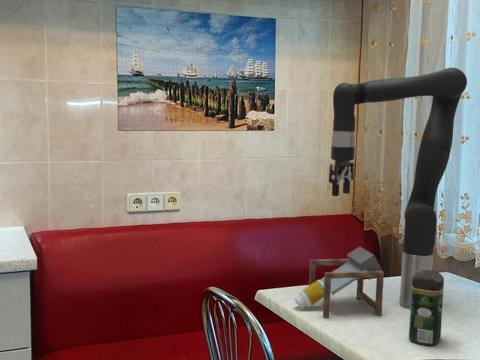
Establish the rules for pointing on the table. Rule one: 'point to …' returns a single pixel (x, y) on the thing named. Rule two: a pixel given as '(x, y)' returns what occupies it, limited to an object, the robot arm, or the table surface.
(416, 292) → the coffee jar
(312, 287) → the supplement bottle
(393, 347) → the table surface
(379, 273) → the frame
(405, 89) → the robot arm
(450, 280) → the table surface
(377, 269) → the grey angled panel
